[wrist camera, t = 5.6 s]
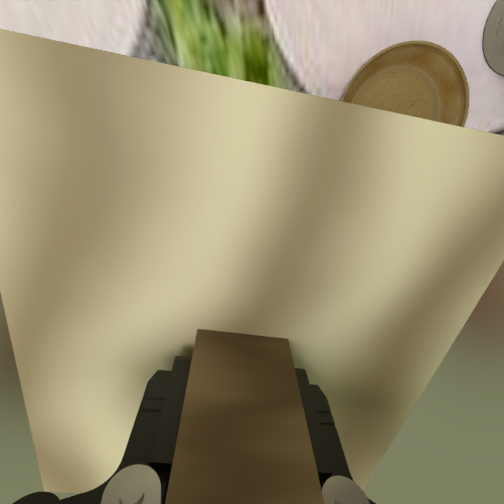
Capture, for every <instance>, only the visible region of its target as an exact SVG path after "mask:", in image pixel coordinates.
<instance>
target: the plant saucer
mask: <svg viewBox="0 0 504 504" xmlns="http://www.w3.org/2000/svg"><path fill="white" fill-rule="evenodd" d="M341 101H342V102H347V103H351V104H356V105H361V106H366V107H370V108H375V109H380V110H384V111H389V112H394V113H399V114H403V115H408V116H413V117H417V118H422V119H427V120H431V121H436V122H441V123H446V124H450V125H455V126H460V127H464V125H465V122H466V118H467V114H468V107H469V88H468V83H467V79H466V76H465V74H464V71H463V69H462V67H461V65H460V64H459V62H458V61H457V59H456V58H455V57H454V56H453V55H452V54H451V53H450V52H449V51H447V50H446V49H445V48H443V47H441V46H439V45H437V44H435V43H432V42H427V41H408V42H402V43H398V44H395V45H393V46H390V47H388V48H386V49H384V50H383V51H381V52H380V53H378V54H376V55H375V56H374V57H372V58H371V59H370V60H369V61H367V62H366V63H365V64H364V65H363V66H362V67H361V69H360V70H359V71H358V72H357V73H356V75H355V76H354V77H353V78H352V80H351V82H350V83H349V85H348V87H347V89H346V90H345V93H344V95H343V97H342V100H341Z"/></svg>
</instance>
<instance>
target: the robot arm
mask: <svg viewBox="0 0 504 504" xmlns="http://www.w3.org/2000/svg"><path fill="white" fill-rule="evenodd" d="M483 49H484V54H485V58H486V60H487V62H488V64H489V66H490V67H491V68H492V69H493V70H494V71H495V72H497V73H499V74H501V75H504V0H497V2H496V3H495V5H494V7H493V9H492V11H491V13H490V15H489V17H488V20H487V23H486V27H485V31H484V38H483ZM191 361H192V357H184V356H175V359H174V363H173V367H172V371H166V370H157V371H156V373H155V374H154V375H153V376H152V377H151V378H150V380H149V381H148V383H147V386H146V389H145V392H144V395H143V399H142V401H141V404H140V407H139V411H138V413H137V416H136V419H135V422H134V425H133V428H132V431H131V434H130V437H129V440H128V443H127V446H126V449H125V452H124V455H123V458H122V460H121V463H120V465H119V466H118V468H117V470H116V471H115V472H114V474H113V475H112V476H111V477H110V478H109V479H108V480H107V481H105V482H104V483H103V484H101V485H100V486H98V487H96V488H95V489H93V490H90V491H87V492H84V493H81V494H78V495H75V496H71V497H69V498H65V499H62V500H59V498H58V497H57V496H56V495H55V494H52V493H50V492H36V493H32V494H29V495H27V496H25V497H22V498H21V499H19V500H17V501H16V502H14V503H13V504H165V501H166V496H167V490H168V485H169V480H170V474H171V469H172V463H173V458H174V453H175V447H176V442H177V436H178V431H179V426H180V420H181V415H182V409H183V404H184V399H185V393H186V388H187V382H188V377H189V372H190V366H191ZM295 372H296V377H297V381H298V386H299V390H300V395H301V399H302V404H303V408H304V413H305V418H306V422H307V427H308V431H309V436H310V440H311V445H312V449H313V454H314V458H315V463H316V468H317V472H318V477H319V481H320V486H321V490H322V495H323V499H324V504H376V503H374V502H372V501H371V500H370V499H368V498H367V496H366V495H365V493H364V492H363V490H362V489H361V488H360V487H359V486H358V485H357V484H356V483H355V482H354V480H353V478H352V476H351V474H350V471H349V468H348V464H347V461H346V458H345V455H344V451H343V448H342V445H341V442H340V439H339V435H338V432H337V429H336V427H335V422H334V419H333V416H332V415H331V409H330V406H329V403H328V400H327V397H326V396H325V394H324V393H323V392H322V390H321V389H320V387H319V386H318V385H313V384H309V380H308V376H307V373H306V370H305V369H302V368H295Z"/></svg>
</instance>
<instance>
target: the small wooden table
mask: <svg viewBox="0 0 504 504" xmlns="http://www.w3.org/2000/svg"><path fill="white" fill-rule="evenodd" d="M503 260H504V136H502V135H497V134H493V133H488V132H483V131H479V130H474V129H469V128H464V127H460V126H455V125H450V124H446V123H441V122H436V121H431V120H427V119H422V118H417V117H413V116H408V115H403V114H399V113H394V112H389V111H384V110H380V109H375V108H370V107H366V106H361V105H356V104H351V103H347V102H342V101H337V100H333V99H328V98H323V97H319V96H314V95H309V94H304V93H300V92H295V91H290V90H286V89H281V88H276V87H271V86H267V85H262V84H257V83H253V82H248V81H243V80H239V79H234V78H229V77H224V76H220V75H215V74H210V73H206V72H201V71H196V70H191V69H187V68H182V67H177V66H173V65H168V64H163V63H159V62H154V61H149V60H144V59H140V58H135V57H130V56H126V55H121V54H116V53H111V52H107V51H102V50H97V49H93V48H88V47H83V46H79V45H74V44H69V43H64V42H60V41H55V40H50V39H46V38H41V37H36V36H31V35H27V34H22V33H17V32H13V31H8V30H3V29H0V291H1V296H2V300H3V305H4V310H5V314H6V318H7V323H8V328H9V332H10V337H11V341H12V346H13V350H14V355H15V360H16V364H17V369H18V373H19V378H20V383H21V387H22V392H23V396H24V401H25V405H26V410H27V414H28V419H29V424H30V427H31V433H32V437H33V442H34V446H35V451H36V455H37V460H38V465H39V469H40V474H41V478H42V483H43V487H44V492H67V493H84V492H87V491H90V490H93V489H95V488H96V487H98V486H100V485H101V484H103V483H104V482H105V481H107V480H108V479H109V478H110V477H111V476H112V475H113V474H114V472H115V471H116V470H117V468H118V466H119V465H120V463H121V460H122V458H123V455H124V452H125V449H126V446H127V443H128V440H129V437H130V434H131V431H132V428H133V425H134V422H135V419H136V416H137V413H138V411H139V407H140V404H141V401H142V399H143V395H144V392H145V389H146V386H147V383H148V381H149V380H150V378H151V377H152V376H153V375H154V374H155V373H156V371H157V370H166V371H172V367H173V363H174V359H175V356H184V357H192V361H191V366H190V372H189V377H188V382H187V388H186V393H185V399H184V404H183V409H182V415H181V420H180V426H179V431H178V436H177V442H176V447H175V453H174V458H173V463H172V469H171V474H170V480H169V485H168V490H167V496H166V501H165V504H324V499H323V495H322V490H321V486H320V481H319V477H318V472H317V468H316V463H315V458H314V454H313V449H312V445H311V440H310V436H309V431H308V427H307V422H306V418H305V413H304V408H303V404H302V399H301V395H300V390H299V386H298V381H297V377H296V372H295V368H302V369H305V370H306V373H307V376H308V380H309V384H313V385H318V386H319V387H320V389H321V390H322V392H323V393H324V394H325V396H326V397H327V400H328V403H329V406H330V409H331V415H332V416H333V419H334V422H335V427H336V429H337V432H338V435H339V439H340V442H341V445H342V448H343V451H344V455H345V458H346V461H347V464H348V468H349V471H350V474H351V476H352V478H353V480H354V482H355V483H356V484H357V485H358V486H359V487H360V488H361V489H362V490H363V488H364V487H365V485H366V484H367V482H368V480H369V479H370V477H371V475H372V474H373V472H374V470H375V469H376V467H377V466H378V464H379V462H380V461H381V459H382V458H383V456H384V454H385V453H386V451H387V449H388V447H389V446H390V444H391V443H392V441H393V440H394V438H395V436H396V434H397V433H398V431H399V430H400V428H401V427H402V425H403V423H404V422H405V420H406V418H407V417H408V415H409V413H410V412H411V410H412V408H413V407H414V405H415V404H416V402H417V400H418V399H419V397H420V396H421V394H422V392H423V391H424V389H425V387H426V386H427V384H428V382H429V381H430V379H431V378H432V376H433V374H434V373H435V371H436V370H437V368H438V366H439V364H440V363H441V361H442V360H443V358H444V356H445V355H446V353H447V352H448V350H449V348H450V347H451V345H452V343H453V342H454V340H455V339H456V337H457V335H458V334H459V332H460V330H461V329H462V327H463V326H464V324H465V322H466V321H467V319H468V317H469V316H470V314H471V313H472V311H473V309H474V308H475V306H476V304H477V303H478V301H479V299H480V298H481V296H482V295H483V293H484V291H485V290H486V288H487V287H488V285H489V283H490V281H491V280H492V278H493V277H494V275H495V274H496V272H497V270H498V269H499V267H500V265H501V264H502V262H503Z"/></svg>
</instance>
